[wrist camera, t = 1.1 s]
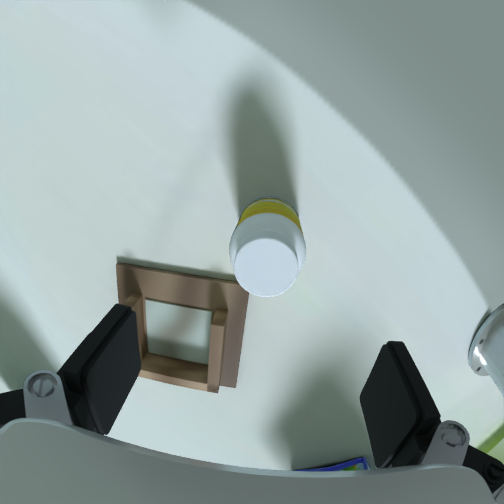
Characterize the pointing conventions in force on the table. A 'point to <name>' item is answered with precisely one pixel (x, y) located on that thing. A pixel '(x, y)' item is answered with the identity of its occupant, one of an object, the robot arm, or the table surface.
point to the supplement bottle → (267, 247)
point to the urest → (185, 325)
